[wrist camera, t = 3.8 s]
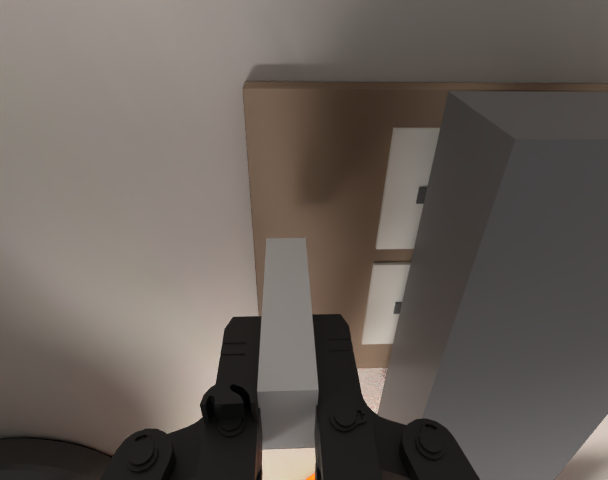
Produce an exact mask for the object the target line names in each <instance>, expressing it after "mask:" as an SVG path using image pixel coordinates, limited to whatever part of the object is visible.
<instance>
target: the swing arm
mask: <svg viewBox="0 0 608 480" xmlns="http://www.w3.org/2000/svg"><path fill="white" fill-rule="evenodd" d="M607 414H608V92H522V91H448V95H447V100H446V104H445V109H444V113H443V118H442V122H441V127H440V132H439V136H438V141H437V145H436V150H435V154H434V159H433V164H432V168H431V173H430V177H429V182H428V186H427V191H426V196H425V200H424V205H423V209H422V214H421V218H420V223H419V228H418V232H417V237H416V241H415V246H414V250H413V255H412V260H411V264H410V269H409V273H408V278H407V282H406V287H405V292H404V296H403V301H402V305H401V310H400V314H399V319H398V324H397V328H396V333H395V337H394V342H393V346H392V351H391V356H390V360H389V365H388V369H387V374H386V378H385V383H384V388H383V392H382V397H381V401H380V406H379V410H378V415H379V416H380V417H383V418H385V419H388V420H391V421H394V422H398V423H401V424H405V425H408V423H410V422H412V421H414V420H415V419H423V418H427V419H430V420H434V421H437V422H438V423H440V424H441V425H443V426H444V427H446V428H447V429H448V430H449V432H450V433H451V434H452V435H453V436H454V438H455V439H456V441H457V443H458V444H459V446H460V448H461V449H462V451H463V452H464V454H465V456H466V457H467V459H468V461H469V462H470V464H471V466H472V467H473V469H474V470H475V472H476V474H477V475H478V477H479V479H480V480H554V479H555V478H556V477H557V476H558V474H559V473H560V472H561V471H562V470H563V468H564V467H565V466H566V465H567V463H568V462H569V461H570V460H571V458H572V457H573V456H574V455H575V454H576V452H577V451H578V450H579V449H580V447H581V446H582V445H583V444H584V442H585V441H586V440H587V439H588V437H589V436H590V435H591V434H592V433H593V431H594V430H595V429H596V428H597V426H598V425H599V424H600V423H601V421H602V420H603V419H604V418H605V417H606V415H607Z"/></svg>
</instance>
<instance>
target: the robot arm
mask: <svg viewBox="0 0 608 480" xmlns="http://www.w3.org/2000/svg"><path fill="white" fill-rule="evenodd" d="M200 407H201V411H202V415H203V417H202V418H201V419H200V420H199V421H197V422H196V423H195V424H193V425H190V426H188V427H186V428H183V429H180V430H178V431H175V432H172V433H169V434H166V433H165V432H163V431H161V430H158V429H144V430H141V431H138V432H135V433H134V434H132V435H131V436H130V437H128V438H127V439H125V440H124V442H123V443H122V444H121V445H120V447H119V448H118V449H117V451H116V452H115V454H114V456H113V457H112V458H111V457H109V456H106V455H104V454H102V453H99V452H97V451H94V450H91V449H88V448H85V447H81V446H77V445H73V444H69V443H64V442H58V441H51V440H42V439H22V438H21V439H2V440H0V480H262V450H263V449H290V448H315V454H316V467H315V480H480V479H479V477H478V475H477V474H476V472H475V470H474V469H473V467H472V466H471V464H470V462H469V461H468V459H467V457H466V456H465V454H464V452H463V451H462V449H461V448H460V446H459V444H458V443H457V441H456V439H455V438H454V436H453V435H452V434H451V433H450V432H449V430H448V429H447V428H446V427H444V426H443V425H441V424H440V423H438V422H437V421H434V420H430V419H427V418H423V419H415V420H414V421H412V422H410V423H408V425H405V424H401V423H398V422H394V421H391V420H388V419H385V418H383V417H380V416H379V415H377V414H376V413H374V412H373V411H372V410H371V409H370V408H369V407H368V406H367V404H366V403H365V401H364V399H363V396H362V393H361V388H360V383H359V377H358V372H357V367H356V361H355V356H354V352H353V345H352V342H351V334H350V329H349V325H348V324H347V322H346V321H345V319H344V318H343V317H342V315H341V314H312V306H311V295H310V283H309V271H308V259H307V248H306V238H266V254H265V270H264V287H263V303H262V316H254V317H233V318H232V319H231V321H230V322H229V324H228V325H227V326H226V328H225V330H224V336H223V345H222V349H221V357H220V361H219V367H218V373H217V380H216V385H214V386H212V387H211V388H210V389H209V390H208V391H207V392H206V393H205V394H204V396H203V398H202V401H201V403H200Z"/></svg>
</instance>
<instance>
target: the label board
mask: <svg viewBox="0 0 608 480" xmlns="http://www.w3.org/2000/svg"><path fill="white" fill-rule="evenodd" d="M448 91H522V92H608V83H456V82H289V81H245V84H244V87H243V98H244V112H245V126H246V141H247V155H248V169H249V183H250V198H251V212H252V226H253V240H254V255H255V269H256V283H257V297H258V311H259V316H262V303H263V287H264V270H265V254H266V238H306V248H307V259H308V271H309V283H310V295H311V306H312V314H341V315H342V317H343V318H344V319H345V321H346V322H347V324H348V325H349V329H350V334H351V342H352V345H353V352H354V356H355V361H356V367H357V368H387V367H388V365H389V360H390V356H391V351H392V346H393V342H394V337H395V333H396V328H397V324H398V319H399V314H400V310H401V305H402V301H403V296H404V292H405V287H406V282H407V278H408V273H409V269H410V264H411V260H412V255H413V250H414V246H415V241H416V237H417V232H418V228H419V223H420V218H421V214H422V209H423V205H424V200H425V196H426V191H427V186H428V182H429V177H430V173H431V168H432V164H433V159H434V154H435V150H436V145H437V141H438V136H439V132H440V127H441V122H442V118H443V113H444V109H445V104H446V100H447V95H448Z"/></svg>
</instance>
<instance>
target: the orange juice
mask: <svg viewBox="0 0 608 480" xmlns="http://www.w3.org/2000/svg"><path fill="white" fill-rule="evenodd" d="M306 480H315V474H314V475H312V476H311V477H309V478H308V479H306Z"/></svg>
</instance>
